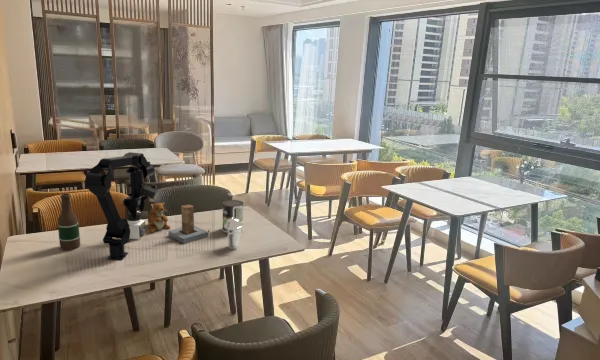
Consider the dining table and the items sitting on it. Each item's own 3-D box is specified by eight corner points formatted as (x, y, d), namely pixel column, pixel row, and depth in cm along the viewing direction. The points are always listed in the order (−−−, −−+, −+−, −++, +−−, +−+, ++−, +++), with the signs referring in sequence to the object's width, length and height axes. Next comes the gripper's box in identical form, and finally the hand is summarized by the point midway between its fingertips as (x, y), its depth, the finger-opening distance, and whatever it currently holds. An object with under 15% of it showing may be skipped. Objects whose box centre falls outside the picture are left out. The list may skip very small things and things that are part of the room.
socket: (183, 243, 192) (183, 238, 192) (168, 235, 201) (168, 230, 200) (207, 236, 202) (207, 231, 201) (192, 229, 210) (192, 224, 210)
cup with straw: (232, 241, 198) (232, 200, 192) (247, 246, 193) (248, 204, 188) (220, 247, 190) (220, 205, 185) (235, 252, 186) (236, 209, 181)
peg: (186, 238, 199) (186, 208, 195) (182, 236, 201) (181, 206, 198) (194, 236, 201) (193, 206, 198) (189, 234, 204) (188, 204, 200)
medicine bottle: (140, 239, 195) (138, 215, 192) (124, 239, 195) (123, 214, 192) (145, 234, 202) (144, 210, 199) (130, 233, 202) (129, 209, 199)
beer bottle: (72, 252, 179) (66, 197, 173) (56, 249, 181) (50, 195, 175) (84, 245, 187) (79, 192, 181) (69, 242, 188) (63, 191, 182)
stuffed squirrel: (151, 233, 202) (150, 207, 199) (142, 224, 213) (140, 199, 210) (172, 229, 208) (171, 204, 205) (161, 221, 219) (160, 196, 216)
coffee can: (225, 234, 205) (225, 207, 202) (220, 227, 214) (220, 200, 211) (245, 232, 210) (246, 205, 206) (239, 225, 219) (240, 199, 215)
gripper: (148, 187, 177) (150, 222, 181) (161, 176, 195) (162, 208, 199) (121, 186, 176) (123, 221, 180) (136, 175, 194) (138, 207, 198)
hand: (138, 214), depth 189 cm, fingers open, 9 cm apart
